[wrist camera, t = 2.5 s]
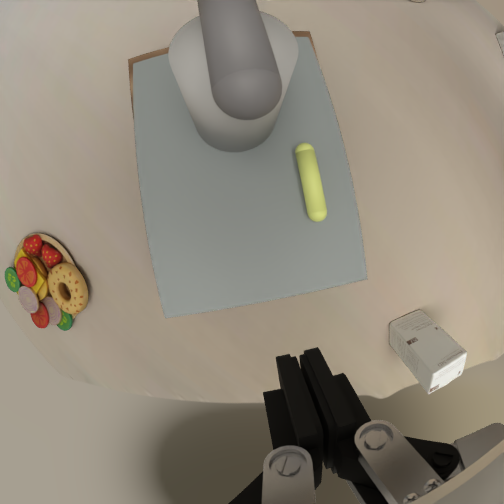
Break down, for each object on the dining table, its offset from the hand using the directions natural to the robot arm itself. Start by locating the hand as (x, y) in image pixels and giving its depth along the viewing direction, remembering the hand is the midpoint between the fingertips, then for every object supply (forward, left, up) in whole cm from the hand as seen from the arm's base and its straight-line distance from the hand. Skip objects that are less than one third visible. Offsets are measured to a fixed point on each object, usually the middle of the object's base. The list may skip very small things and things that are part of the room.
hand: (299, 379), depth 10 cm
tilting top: (-9, 0, -16) cm, 19 cm away
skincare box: (+16, +20, -21) cm, 33 cm away
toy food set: (-1, -28, -21) cm, 35 cm away
